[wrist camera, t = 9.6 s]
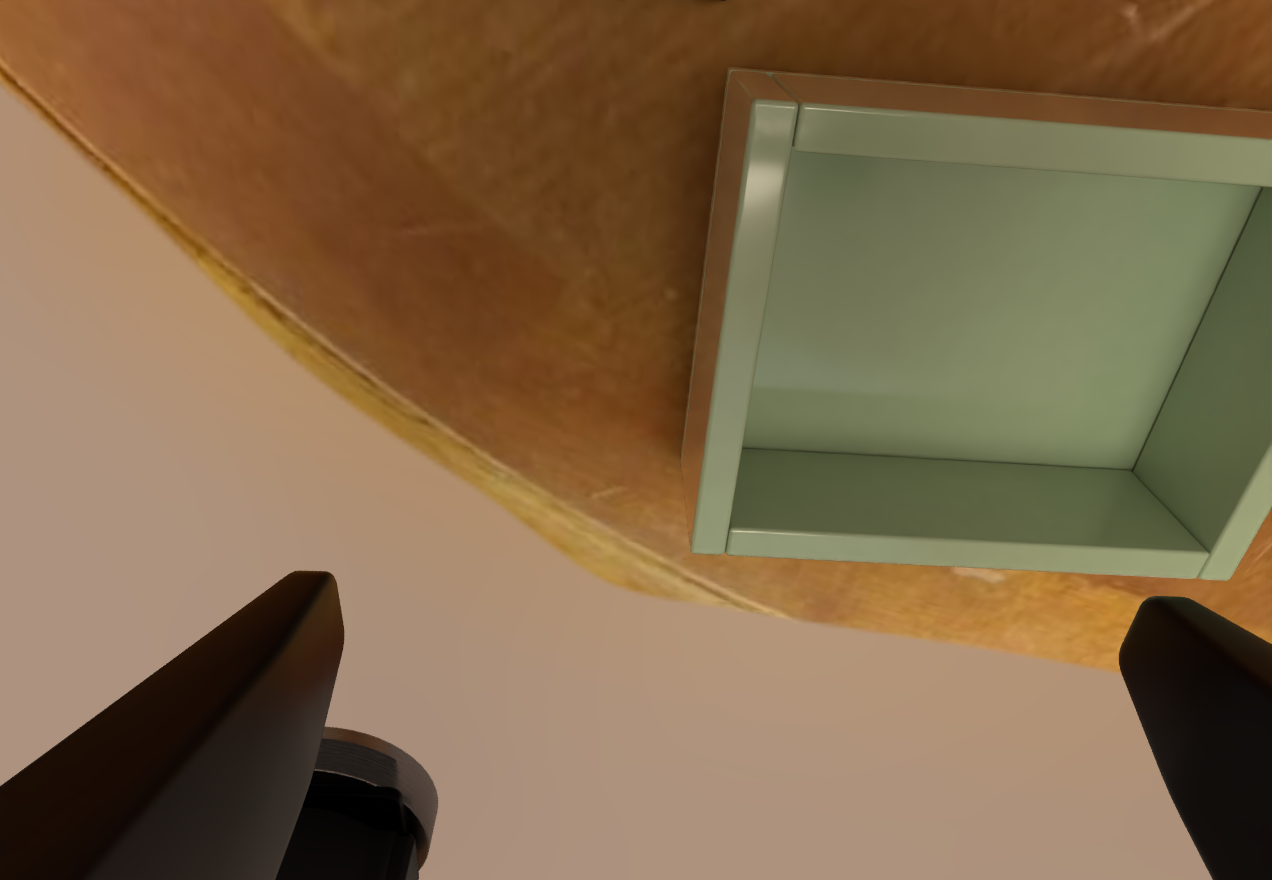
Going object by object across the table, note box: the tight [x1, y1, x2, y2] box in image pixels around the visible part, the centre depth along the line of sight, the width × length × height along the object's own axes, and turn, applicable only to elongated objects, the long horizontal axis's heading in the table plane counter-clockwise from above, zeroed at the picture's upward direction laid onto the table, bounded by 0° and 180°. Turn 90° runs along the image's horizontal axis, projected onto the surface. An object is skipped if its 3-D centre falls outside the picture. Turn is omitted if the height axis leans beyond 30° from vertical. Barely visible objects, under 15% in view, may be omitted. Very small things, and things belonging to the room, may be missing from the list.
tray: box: [680, 67, 1272, 581], centre depth 18 cm, size 13×10×4 cm
